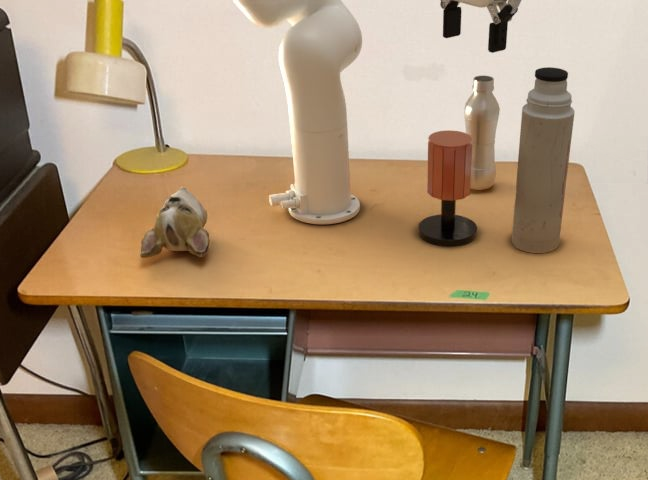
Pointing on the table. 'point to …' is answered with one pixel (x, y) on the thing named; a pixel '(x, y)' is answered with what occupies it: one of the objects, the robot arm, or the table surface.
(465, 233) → the bowl
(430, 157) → the cup
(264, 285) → the table surface
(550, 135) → the thermos bottle
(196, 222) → the ceramic sculpture
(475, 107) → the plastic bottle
